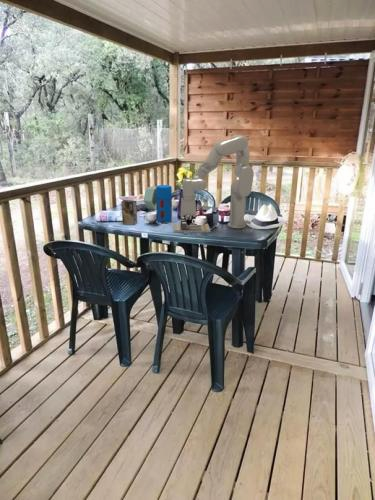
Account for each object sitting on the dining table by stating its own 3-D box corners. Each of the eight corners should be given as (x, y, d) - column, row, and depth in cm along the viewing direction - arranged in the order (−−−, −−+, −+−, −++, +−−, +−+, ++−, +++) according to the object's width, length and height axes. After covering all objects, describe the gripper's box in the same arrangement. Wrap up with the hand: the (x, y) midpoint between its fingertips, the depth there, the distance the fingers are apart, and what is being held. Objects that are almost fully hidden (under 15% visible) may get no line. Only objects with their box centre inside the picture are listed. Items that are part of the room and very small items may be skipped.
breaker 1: (185, 223, 243) (185, 217, 241) (185, 224, 240) (185, 218, 239) (181, 223, 242) (181, 217, 241) (181, 224, 240) (181, 218, 239)
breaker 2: (186, 228, 231) (186, 222, 230) (186, 229, 229) (186, 223, 228) (181, 228, 231) (181, 222, 230) (181, 229, 229) (182, 223, 228)
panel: (207, 225, 245) (207, 222, 244) (210, 232, 230) (210, 229, 229) (173, 225, 244) (173, 223, 243) (173, 232, 229) (173, 230, 228)
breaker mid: (184, 225, 237) (184, 219, 236) (185, 226, 235) (185, 220, 233) (180, 225, 237) (180, 219, 235) (180, 226, 235) (180, 220, 233)
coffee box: (137, 222, 249) (137, 200, 244) (134, 225, 243) (133, 202, 238) (125, 221, 251) (124, 199, 246) (122, 224, 245) (120, 201, 240)
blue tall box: (169, 223, 248) (169, 188, 240) (155, 222, 250) (154, 187, 242) (173, 219, 258) (173, 185, 250) (159, 218, 260) (158, 184, 252)
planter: (157, 214, 287) (149, 196, 272) (149, 213, 291) (140, 195, 275) (166, 200, 295) (159, 181, 280) (159, 199, 299) (150, 180, 284)
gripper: (199, 196, 233) (198, 223, 240) (176, 196, 232) (177, 223, 239) (200, 199, 226) (200, 226, 233) (177, 199, 225) (177, 226, 232)
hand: (188, 224), depth 236 cm, fingers closed
